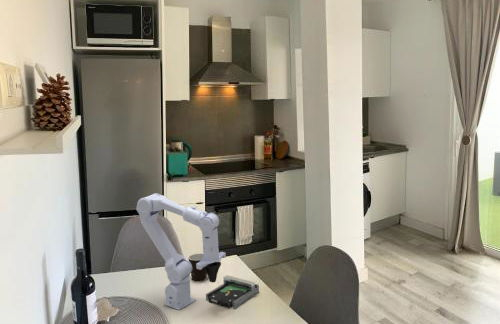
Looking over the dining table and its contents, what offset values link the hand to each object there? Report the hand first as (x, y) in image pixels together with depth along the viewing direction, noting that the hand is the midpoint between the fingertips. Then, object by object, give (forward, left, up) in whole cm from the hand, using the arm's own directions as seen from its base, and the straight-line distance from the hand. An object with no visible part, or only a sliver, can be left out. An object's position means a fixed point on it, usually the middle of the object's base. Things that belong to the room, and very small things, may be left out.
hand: (212, 281), depth 155 cm
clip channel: (+11, -1, -10) cm, 15 cm away
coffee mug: (+18, +23, -10) cm, 31 cm away
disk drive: (+9, -1, -11) cm, 14 cm away
